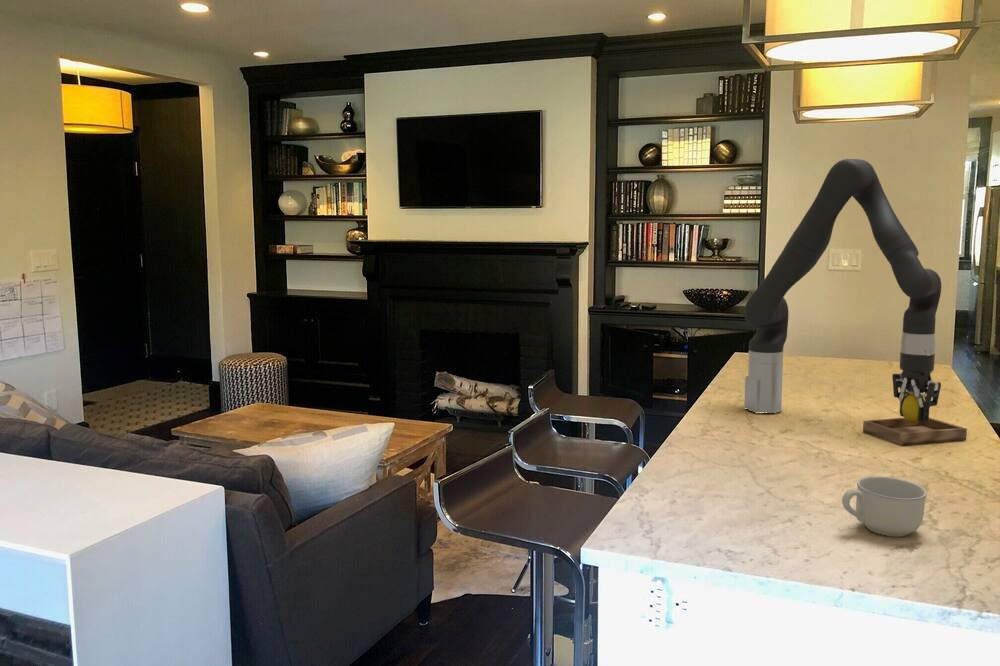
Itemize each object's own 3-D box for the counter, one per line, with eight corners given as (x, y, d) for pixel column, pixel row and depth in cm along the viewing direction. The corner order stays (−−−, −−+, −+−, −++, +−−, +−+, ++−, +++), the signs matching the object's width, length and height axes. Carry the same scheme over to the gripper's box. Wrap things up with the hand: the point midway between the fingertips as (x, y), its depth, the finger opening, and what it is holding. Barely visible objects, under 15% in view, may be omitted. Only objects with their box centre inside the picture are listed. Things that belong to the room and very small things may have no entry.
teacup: (906, 519, 146) (909, 475, 145) (936, 542, 135) (939, 495, 134) (827, 519, 146) (828, 475, 145) (850, 542, 135) (852, 495, 134)
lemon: (929, 427, 199) (931, 395, 198) (904, 427, 200) (906, 394, 199) (922, 422, 204) (924, 391, 203) (898, 421, 206) (900, 390, 205)
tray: (902, 446, 194) (903, 433, 193) (862, 432, 207) (863, 420, 207) (966, 440, 198) (966, 428, 198) (923, 427, 211) (924, 416, 211)
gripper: (883, 347, 206) (880, 413, 208) (926, 356, 192) (922, 426, 194) (909, 346, 208) (905, 412, 210) (953, 354, 194) (949, 424, 196)
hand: (913, 418), depth 202 cm, fingers closed on lemon, 5 cm apart
